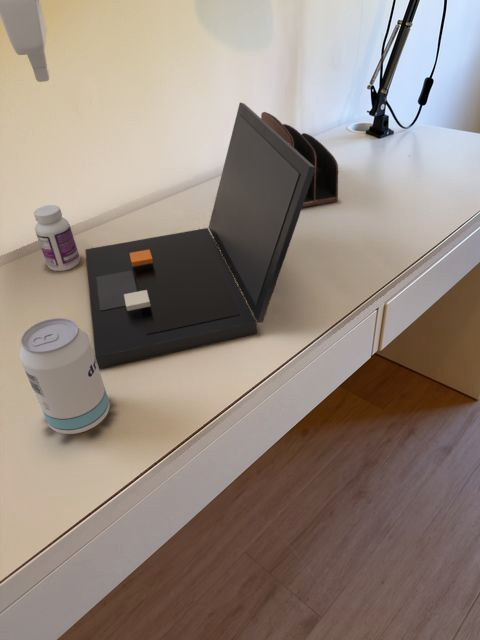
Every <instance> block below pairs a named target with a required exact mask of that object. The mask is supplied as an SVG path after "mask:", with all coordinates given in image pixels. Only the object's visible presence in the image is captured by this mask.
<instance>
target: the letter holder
mask: <svg viewBox="0 0 480 640" xmlns="http://www.w3.org/2000/svg"><path fill="white" fill-rule="evenodd" d="M260 118H261V119H262V120H263V121H264V122H265V123H267V124H268V125H269V126H270V127H271V128H272V129H273V130H274V131H275V132H277V133H278V134H279V135H280V136H281V137H282V138H283V139H284V140H285V141H287V142H288V143H289V144H290V145H291V146H292V147H293V148H294V149H295V150H297V151H298V152H299V153H300V154H301V155H302V156H303V157H304V158H305V159H307V160H308V161H309V162H310V163H311V164H312V165H313V166H314V167H316V169H315V172H314V175H313V177H312V180H311V183H310V186H309V189H308V192H307V195H306V198H305V201H304V204H303V207H302V209H303V208H309V207H315V206H321V205H325V204H332V203H337V202H338V201H339V164H338V161H337V160H336V158H335V156H334V154H332V152H330V150H328V148H326V146H325V145H323V144H322V143H321V142H320V141H319V140H318V139H316V138H315V137H314V136H312V135H310V134H309V133H305V132H303V133H301V132H299V130H297V129H296V128H295V127H293V126H291V125H289V124H286V123H282V122H281V121H280V120H279V119H278V118H277V117H276V116H275V115H273V114H271V113H269V112H266V111H263V112H261V114H260Z"/></svg>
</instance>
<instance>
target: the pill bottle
mask: <svg viewBox="0 0 480 640" xmlns="http://www.w3.org/2000/svg"><path fill="white" fill-rule="evenodd" d="M33 215H34V216H33V217H34V218H35V219H34V220H35V221H36V222H37V223H36V224H35V226H34V231H35V235H36V237H37V240H38V243H39V246H40V248H41V251H42V254H43V257H44V260H45V263H46V265H47V267H48V268H49V269H51V270H52V271H55V272H63V271H68V270H71V269H73V268H75V267H76V266H78V265H79V264H80V261H81V257H80V254H79V250H78V247H77V244H76V241H75V237H74V233H73V231H72V228H71V225H70V222H69V220H68V219H66V218H65V217H63V213H62V211H61V207H60V206H58V205H56V204H48V205H43V206H40V207H38V208H36V209H35V210H34V211H33Z"/></svg>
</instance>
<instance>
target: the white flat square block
mask: <svg viewBox="0 0 480 640" xmlns="http://www.w3.org/2000/svg"><path fill="white" fill-rule="evenodd" d="M124 298H125V303H126V308H127V311H130V310H135V309H140V308H145V307H150V306H151V305H150V301H149V297H148V293H147V290H144V291H139V292H133V293H128V294H124Z"/></svg>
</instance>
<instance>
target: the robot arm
mask: <svg viewBox="0 0 480 640" xmlns="http://www.w3.org/2000/svg"><path fill="white" fill-rule="evenodd" d="M0 19H1V22H2V24H3V27H4V30H5V33H6V34H7V37H8V40H9V42H10V44H11V46H12V49H13V50H14V52H15V53H16V54H17V55H18V56H25V55H26V56H27V58H28V61H29V63H30V65H31V68H32V70H33V75H34V78H35V80H36V82H39V83H43V82H48V81H49V80H50V71H49V67H48V64H47V59H46V57H47V56H46V52H45V51H46V40H47V30H48V29H47V24H46V20H45V19H46V18H45V16H44V12H43V9H42V4H41V0H0Z"/></svg>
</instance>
